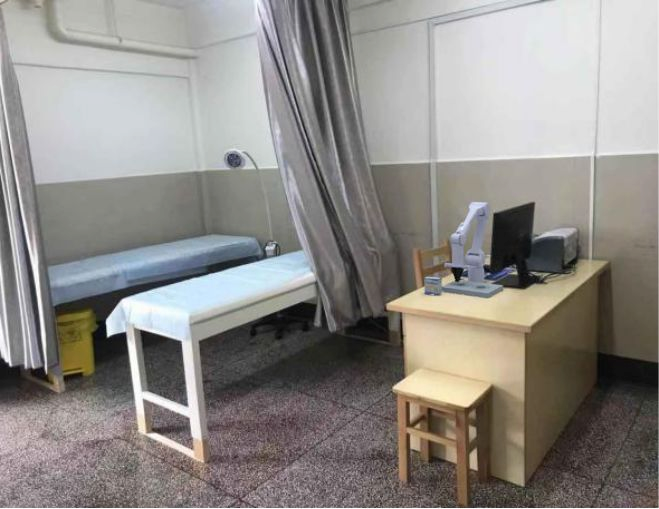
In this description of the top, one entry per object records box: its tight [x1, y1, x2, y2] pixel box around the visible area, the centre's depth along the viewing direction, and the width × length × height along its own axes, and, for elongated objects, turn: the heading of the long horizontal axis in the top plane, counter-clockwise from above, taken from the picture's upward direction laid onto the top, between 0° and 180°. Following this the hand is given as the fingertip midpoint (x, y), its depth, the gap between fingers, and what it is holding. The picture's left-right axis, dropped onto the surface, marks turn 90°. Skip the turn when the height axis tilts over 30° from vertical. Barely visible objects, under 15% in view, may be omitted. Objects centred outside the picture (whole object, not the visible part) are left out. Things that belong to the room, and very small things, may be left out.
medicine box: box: [424, 276, 443, 296], centre depth 281 cm, size 8×4×9 cm, turn 62°
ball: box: [458, 277, 466, 285], centre depth 286 cm, size 4×4×4 cm
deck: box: [442, 280, 504, 299], centre depth 283 cm, size 26×18×2 cm
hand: (457, 281), depth 288 cm, fingers closed
